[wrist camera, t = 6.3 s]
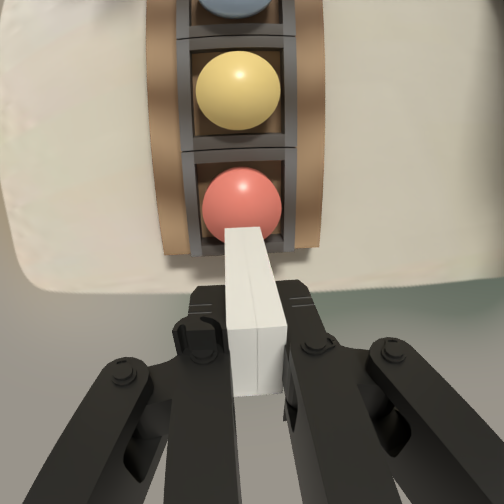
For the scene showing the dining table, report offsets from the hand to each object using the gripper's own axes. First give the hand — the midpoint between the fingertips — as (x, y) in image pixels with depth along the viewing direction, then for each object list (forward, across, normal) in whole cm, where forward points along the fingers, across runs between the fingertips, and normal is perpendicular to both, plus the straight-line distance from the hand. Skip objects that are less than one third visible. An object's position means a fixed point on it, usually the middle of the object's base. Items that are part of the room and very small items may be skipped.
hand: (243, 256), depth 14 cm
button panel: (+11, 0, +7) cm, 13 cm away
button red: (+8, 0, 0) cm, 8 cm away
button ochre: (+8, 0, +7) cm, 11 cm away
